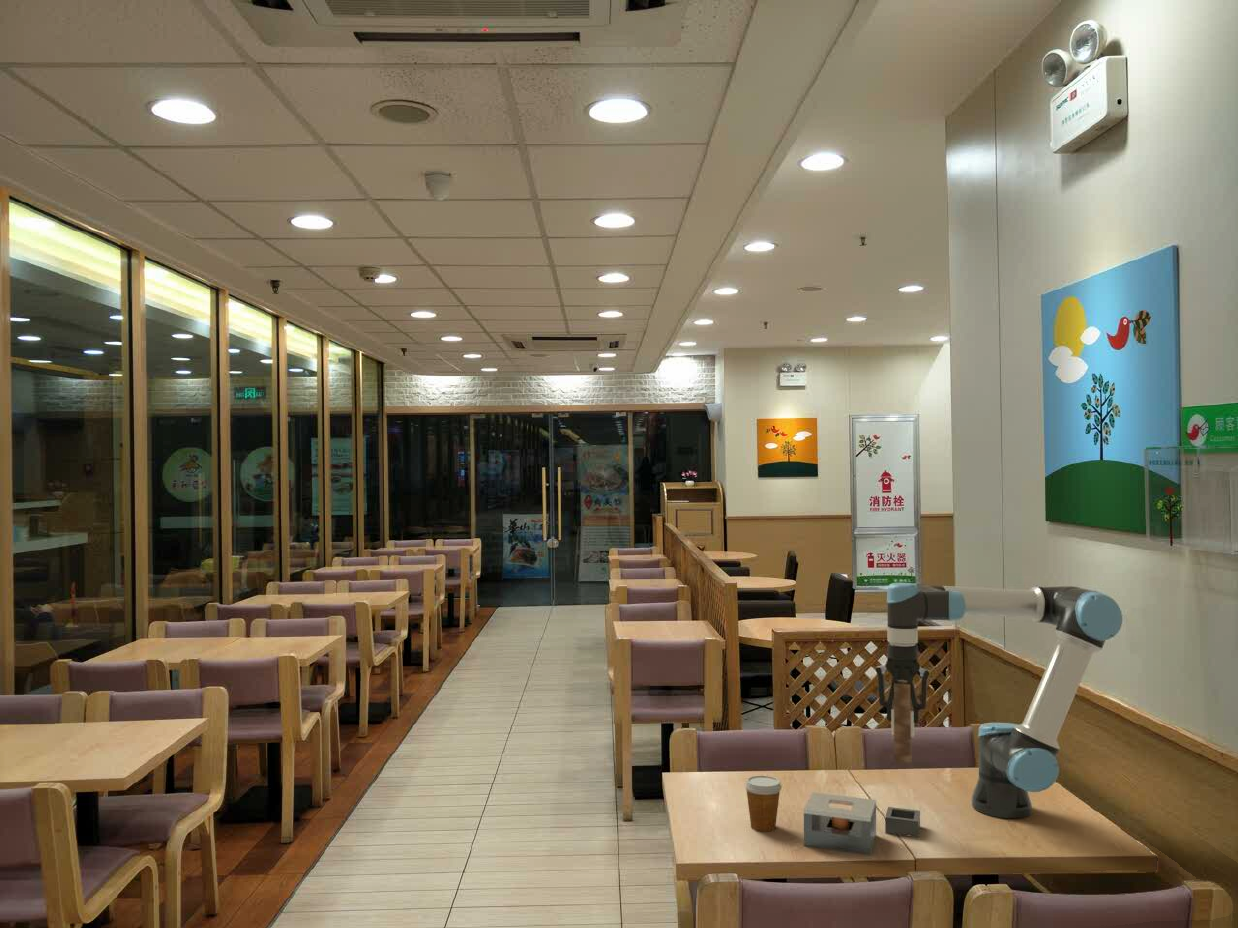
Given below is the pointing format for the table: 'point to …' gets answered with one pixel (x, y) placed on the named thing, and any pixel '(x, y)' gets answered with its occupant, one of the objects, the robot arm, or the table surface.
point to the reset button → (840, 823)
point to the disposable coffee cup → (763, 801)
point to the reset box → (840, 839)
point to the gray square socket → (902, 821)
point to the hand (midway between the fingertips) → (902, 734)
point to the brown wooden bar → (902, 722)
